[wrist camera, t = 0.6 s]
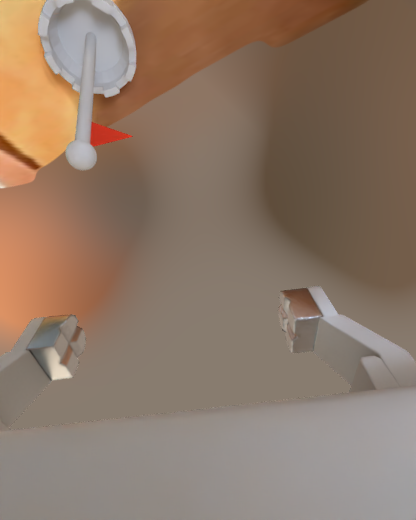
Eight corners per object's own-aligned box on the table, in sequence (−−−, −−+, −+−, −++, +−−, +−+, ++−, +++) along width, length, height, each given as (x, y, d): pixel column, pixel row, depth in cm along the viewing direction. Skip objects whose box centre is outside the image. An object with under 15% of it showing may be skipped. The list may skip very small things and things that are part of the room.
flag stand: (56, 77, 47) (30, 210, 31) (29, -32, 36) (-32, 91, 21) (136, 84, 50) (147, 209, 34) (133, -14, 39) (147, 105, 24)
